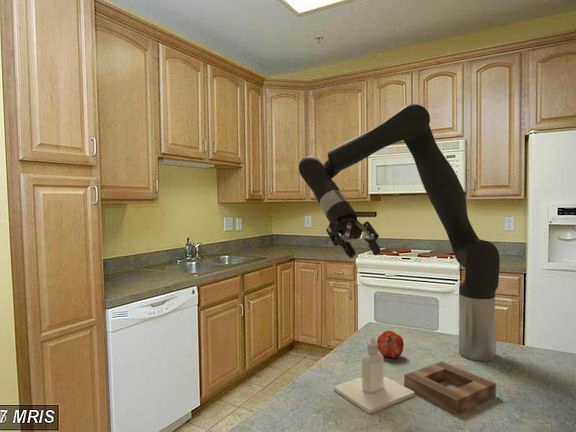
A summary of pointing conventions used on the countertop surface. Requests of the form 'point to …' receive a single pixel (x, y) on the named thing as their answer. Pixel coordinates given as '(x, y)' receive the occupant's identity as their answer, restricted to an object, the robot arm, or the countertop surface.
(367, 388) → the eye dropper bottle
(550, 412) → the countertop surface
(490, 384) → the walnut socket stand
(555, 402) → the countertop surface
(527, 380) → the countertop surface
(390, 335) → the pomegranate
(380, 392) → the off-white tile
